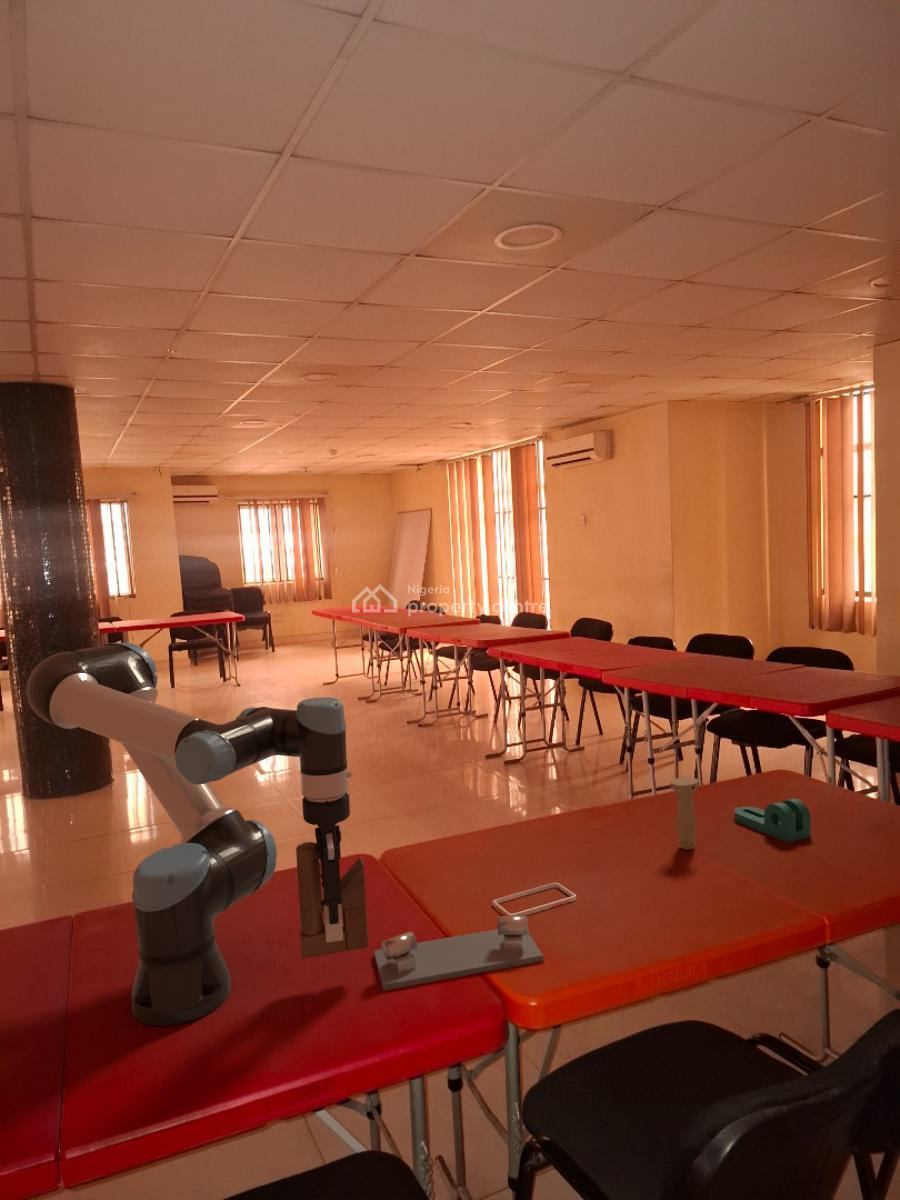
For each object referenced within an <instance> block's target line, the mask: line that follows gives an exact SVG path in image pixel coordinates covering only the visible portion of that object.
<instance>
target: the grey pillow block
mask: <svg viewBox="0 0 900 1200" xmlns="http://www.w3.org/2000/svg"><path fill="white" fill-rule="evenodd" d="M417 943H418V941H417V938H416V935H415V934H414V932H413V931H411V930H410V931H407V932H403V933H402V934H399V935H397V936H396V935H395V936H394V937H391V938H388V939H386V940H383V941H382V942H381V949H382V951H383V954H384V956H385V958H386V964H387V965H388V966H390V967H391V968H392V969H393V970H394V971H395V972H396V973H397V974H398V975H400V974H402V973H405V972H407V971H410V970H412V969H415V968H416V963H415V956H414V955H413V954H412V953H410V952H411V951H414V950H416V949H417Z"/></svg>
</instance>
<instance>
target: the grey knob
mask: <svg viewBox="0 0 900 1200" xmlns="http://www.w3.org/2000/svg"><path fill="white" fill-rule="evenodd" d="M497 929H498V935H504V940H503V943H504V952H523V944H524V935H528V933H529V919H528V915H526V916H507V915H506V916H503V915H502V916H497Z"/></svg>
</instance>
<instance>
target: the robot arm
mask: <svg viewBox="0 0 900 1200" xmlns="http://www.w3.org/2000/svg"><path fill="white" fill-rule="evenodd" d="M157 670H158V669H157V666H156V663H155V661H154V660H153V658H152V656H151V655H150V654H149V653H148V652H147V651H146V650H145V649H144V648H143V647H141V646H139V645H138V644H135V643H132V642H109V643H105V644H102V645H100V646H94V647H88V648H82V649H81V648H80V649H75V650H70V651H62V652H57V653H55V654H52V655H51V656H48V657H46V658H45V659H42V661H40V662H39V663H38V664H37V665H36V666H35V667H34V668H33V670H32V672H31V673H30V675H29V678H28V679H27V683H26V697H27V702H28V704H29V706H30V707H31V710H33V712H34V713H35V714H36V715H37V716H38V717H39V718H41V720H43V721H45V722H47V723H49V724H51V725H54V726H56V727H59V728H62V729H67V730H73V729H77V728H80V729H83V730H86V731H88V732H90V733H91V732H92V733H94V734H95V735H100V736H102V737H104V738H107V739H110V740H113V741H116V742H119V743H121V745H122V746H123V748H124V749H125V751H126V752H127V754H128V755H129V757H130V759H131V760H132V762H133V763H134V765H135V766H136V767H137V770H138V771H139V772H140V773H141V775H142V777H143V778H144V779H145V781H146V783H147V785H148V786H149V787H150V789H151V791H152V792H153V794H154V795H155V797H156V798H157V800H158V801H159V803H160V804H161V806H162V807H163V809H164V811H165V812H166V814H167V815H168V816H169V818H170V819H171V822H172V823H173V825H174V826H175V827H176V830H177V831H178V832H179V834H180V835H181V842H180V843H177V844H173V845H172V846H171V847H168V846H167V847H163V848H161V849H159V850H156V851H154V852H153V853H151V854H150V855H148V856H146V857H145V858H144V859H143V860H142V861H141V862H140V863H139V864H138V865H137V867H136V868H135V870H134V872H133V875H132V894H131V899H132V903H133V906H134V918H135V925H136V927H135V928H136V935H137V947H138V958H139V962H138V964H137V965H138V966H137V970H136V974H135V978H134V982H133V985H132V990H131V997H130V1000H131V1003H130V1004H131V1012H132V1015H133V1017H134V1019H136V1020H137V1021H138V1022H140V1023H142V1024H145V1025H149V1026H157V1027H163V1026H164V1027H165V1026H174V1025H179V1024H183V1023H187V1022H191V1021H194V1020H196V1019H199V1018H202V1017H204V1016H205V1015H207V1014H209V1013H211V1012H213V1011H214V1010H215V1009H217V1008H218V1007H220V1006H221V1005H222V1004H223V1003H224V1002H225V1001H226V1000H227V998H228V996H229V995H230V993H231V988H232V987H231V986H232V985H231V984H232V983H231V974H230V971H229V968H228V966H227V964H226V961H225V960H224V958H223V955H222V953H221V951H220V949H219V947H218V944H217V941H216V930H215V917H217V916H218V915H221V913H223V912H225V911H226V910H228V909H229V908H230V907H233V905H235V904H237V903H238V902H240V901H241V900H243V899H245V898H247V897H248V896H251V895H254V894H255V893H256V892H257V891H258V890H259V889H260V888H262V887H263V886H264V885H265V884H266V883H268V881H269V880H270V879H271V877H272V876H273V874H274V872H275V870H276V867H277V858H278V852H277V851H278V849H277V845H276V841H275V839H274V836H273V834H272V833H271V831H270V829H269V828H268V827H267V826H266V825H265V824H263V823H262V822H261V821H259V822H258V821H257V820H254V819H247V820H245V818H244V817H243V815H242V814H241V813H240V811H239V810H238V809H237V808H234V807H230V806H229V807H228V806H225V804H223V801H222V800H221V799H220V797H219V796H218V794H217V793H216V791H215V790H214V788H213V787H212V785H211V784H210V783H211V782H216V781H220V780H221V779H224V778H226V777H227V776H229V775H231V774H233V773H235V772H238V771H240V770H243V769H244V768H247V767H250V766H252V765H254V764H257V763H259V762H261V761H264V760H266V759H268V758H271V757H273V756H283V757H284V756H285V757H295V758H299V767H300V770H299V771H300V772H299V775H300V790H301V791H300V792H301V796H303V798H302V801H301V802H302V819H303V820H304V822H306V823H307V824H309V825H312V826H316V825H317V827H315V828H314V833H315V834H314V835H315V841H316V842H315V843H317V845H318V851H319V862H320V879H321V887H322V889H321V897H322V901H320V905H321V906H322V905H324V913H323V912H322V914H323V924H325V931H326V943H327V942H334V941H340V940H343V910H342V909H341V903H342V898H341V884H340V880H341V870H340V869H341V868H340V860H341V857H342V856H341V854H342V853H341V842H342V833H341V832H342V831H341V830H340V825H339V824H338V823H342V822H344V821H346V820H347V819H348V818H349V817H350V814H351V807H350V806H351V805H350V795H349V793H348V792H349V780H348V778H351V777H352V776H353V775H352V772H351V771H350V770H349V771H348V760H347V734H346V733H347V731H346V729H347V723H346V719H345V711H344V704H343V703H342V701H341V700H339V699H338V698H337V697H330V696H329V697H328V696H327V697H325V696H324V697H312V698H307V699H303V700H301V701H299V702H298V704H297V706H296V710H295V709H286V708H275V707H274V708H273V707H272V708H271V707H267V706H260V707H247V708H245V709H243V710H242V711H240V714H239V715H238V716H237V717H235V720H234V719H233V720H232V721H228V722H225V723H222V724H219V723H215V722H211V721H208V720H205V719H201V718H198V717H195V716H194V715H193V716H192V715H190V714H188V713H184V712H181V711H178V710H176V709H173V708H169V707H167V706H163V705H162V704H161V705H160V704H157V703H156V702H157V697H158V695H159V691H158V689H157V684H158V680H159V679H158V675H157V674H156V672H157Z"/></svg>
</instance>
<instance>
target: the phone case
mask: <svg viewBox="0 0 900 1200" xmlns="http://www.w3.org/2000/svg"><path fill="white" fill-rule="evenodd" d="M553 888H558V889H559V890H561V891H562V892H563V893H564V894H567V895H568V897H566V898H565V897H564V898H562V899H558V900H556V901H555V900H554V901H552V902H549V903H545V904H542V905H538V906H535V907H531V908H529V909H525V910H522V911H518V912H514V913H510V912H509V911H507V910H506V909H505V908H504V907H502V906H501V905H500V904H501V903H505V902H507V901H511V900H514V899H518V898H523V897H524V896H529V895H533V894H536V893H538V892H539V893H540V892H542V891H547V890H550V889H553ZM575 901H577V894H576V893H574V892H572V891H570V890H569V889H567V888H566V887H565V886H563V885H562V884H560V883H559V882H552V883H548V884H544V885H541V886H537V887H534V888H531V889H527V890H523V891H521V892H517V893H512V894H509V895H506V896H503V897H499V898H498V897H497V898H496V899H493V900H492V906H493V907H494V908H497V907H498V908H499V909H500V910H501V911H503V912H504V913H505V914H506V916H530V915H533V914H536V913H539V912H542V911H543V912H544V911H546V910H549V909H552V906H554V905H557V904H562V903H565V902H568V903H573V902H575Z"/></svg>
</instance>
